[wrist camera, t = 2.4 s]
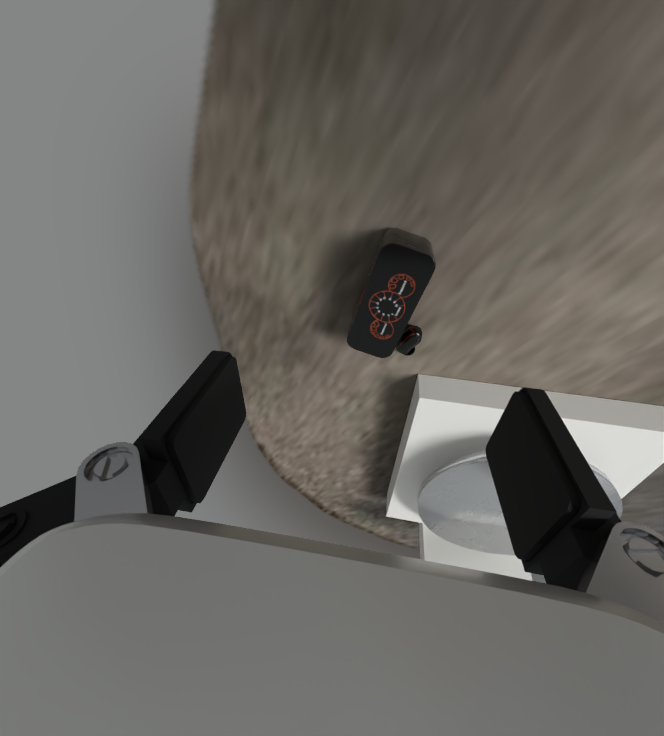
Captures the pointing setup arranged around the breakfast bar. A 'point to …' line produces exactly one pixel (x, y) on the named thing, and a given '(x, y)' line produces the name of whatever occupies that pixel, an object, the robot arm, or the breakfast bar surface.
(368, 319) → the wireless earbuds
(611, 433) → the kitchen scale
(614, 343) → the breakfast bar surface
